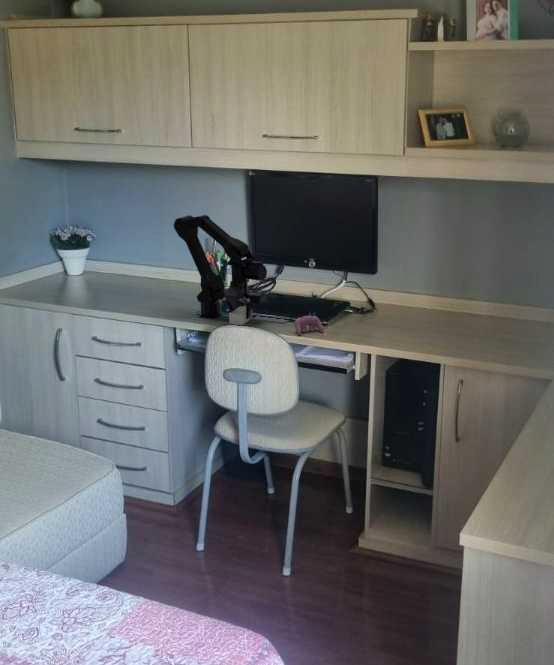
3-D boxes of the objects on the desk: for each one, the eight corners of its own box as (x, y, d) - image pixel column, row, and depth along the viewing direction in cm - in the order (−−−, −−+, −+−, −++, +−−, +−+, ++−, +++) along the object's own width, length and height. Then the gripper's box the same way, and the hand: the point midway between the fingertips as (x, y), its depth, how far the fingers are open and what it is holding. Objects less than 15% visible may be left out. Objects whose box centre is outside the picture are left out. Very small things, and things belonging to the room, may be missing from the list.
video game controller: (320, 334, 315) (317, 315, 316) (325, 332, 310) (321, 312, 311) (294, 337, 312) (291, 318, 313) (298, 335, 308) (295, 316, 308)
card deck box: (229, 323, 324) (229, 313, 322) (240, 316, 331) (240, 306, 330) (241, 325, 322) (241, 314, 320) (252, 318, 329) (252, 307, 328)
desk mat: (252, 320, 327) (252, 318, 327) (265, 311, 337) (265, 310, 336) (284, 323, 322) (284, 322, 322) (296, 315, 331) (296, 314, 331)
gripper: (206, 280, 318) (208, 321, 323) (253, 285, 310) (254, 327, 315) (220, 273, 327) (222, 313, 332) (266, 277, 320) (267, 318, 325)
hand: (241, 318), depth 326 cm, fingers closed on card deck box, 5 cm apart
